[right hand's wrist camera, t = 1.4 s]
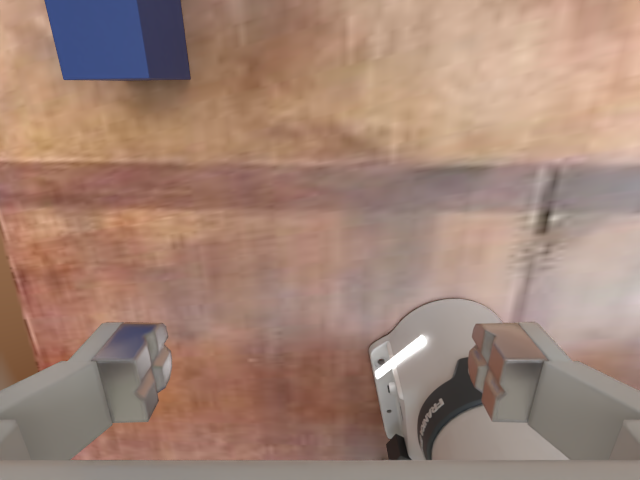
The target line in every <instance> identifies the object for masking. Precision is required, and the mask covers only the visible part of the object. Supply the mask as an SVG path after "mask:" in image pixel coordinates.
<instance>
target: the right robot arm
mask: <svg viewBox="0 0 640 480" xmlns="http://www.w3.org/2000/svg"><path fill="white" fill-rule="evenodd" d="M167 338H168V333H167V328H166V326H165V325H164V324H163V323H139V322H125V323H124V322H106V323H102V324H101V325H100V326H99V327H98V328H97V330H96V331H95V332H94V333H93V334H92V335H91V336H90V337H89V338H88V339H87V340H86V342H85V343H84V344H83V345H82V346H81V347H80V348H79V349H78V350H77V351H76V353H75V354H74V355H73V356H72V357H71V358H70V359H69V360H68V361H61V362H59V363H57V364H55V365H52V366H50V367H48V368H46V369H44V370H42V371H40V372H38V373H36V374H34V375H32V376H30V377H28V378H26V379H24V380H22V381H20V382H18V383H16V384H13V385H11V386H9V387H7V388H5V389H3V390H1V391H0V480H640V391H639V390H637V389H635V388H633V387H630V386H628V385H626V384H624V383H622V382H620V381H618V380H616V379H614V378H612V377H610V376H608V375H606V374H604V373H602V372H600V371H598V370H596V369H594V368H592V367H590V366H588V365H585V364H583V363H581V362H579V361H572V360H571V359H570V358H569V357H568V356H567V355H566V354H565V353H564V351H563V350H562V349H561V348H560V347H559V346H558V345H557V344H556V343H555V342H554V340H553V339H552V338H551V337H550V336H549V335H548V334H547V333H546V332H545V331H544V329H543V328H542V327H541V326H540V325H539V324H537V323H535V322H515V323H502V321H501V320H500V318H499V317H498V316H497V315H496V314H495V313H494V312H493V311H492V310H490V309H489V308H487V307H486V306H484V305H482V304H480V303H477V302H474V301H470V300H465V299H444V300H438V301H434V302H431V303H428V304H425V305H423V306H421V307H419V308H417V309H415V310H414V311H412V312H411V313H409V314H408V315H407V316H406V317H405V318H404V319H402V320H401V322H400V323H399V324H398V325H397V326H396V327H395V329H394V330H393V331H392V332H391V333H390V334H388V335H386V336H385V337H383V338H381V339H379V340H377V341H376V342H374V343H373V344H372V345H371V346H370V347H369V356H370V361H371V366H372V371H373V375H374V380H375V385H376V390H377V395H378V400H379V405H380V410H381V415H382V420H383V425H384V429H385V432H386V435H387V437H388V438H389V439H390V441H389V442H388V443H387V444H386V446H387V451H388V457H389V460H70V459H72V458H73V457H74V456H75V455H76V454H78V453H79V452H80V451H81V450H82V449H84V448H85V447H86V446H87V445H89V444H90V443H91V442H92V441H93V440H95V439H96V438H97V437H98V436H99V435H101V434H102V433H103V432H104V431H105V430H107V429H108V428H109V427H110V426H112V423H124V422H148V421H149V419H150V417H151V415H152V413H153V411H154V409H155V407H156V405H157V403H158V401H159V399H158V394H157V393H158V392H160V391H161V390H163V389H164V388H166V385H167V383H168V381H169V379H170V375H171V370H172V356H171V351H170V350H169V349H168V348H167V347H166V346H165V345H164V343H165V342H166V340H167ZM379 359H383V360H382V361H379Z"/></svg>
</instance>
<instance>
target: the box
mask: <svg viewBox="0 0 640 480" xmlns="http://www.w3.org/2000/svg"><path fill="white" fill-rule="evenodd" d="M45 4H46V8H47V13H48V17H49V21H50V25H51V29H52V33H53V37H54V42H55V46H56V50H57V54H58V58H59V62H60V67H61V71H62V75H63V79H64V80H113V81H133V80H190V71H189V63H188V56H187V48H186V40H185V32H184V25H183V17H182V9H181V1H180V0H45Z"/></svg>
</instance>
